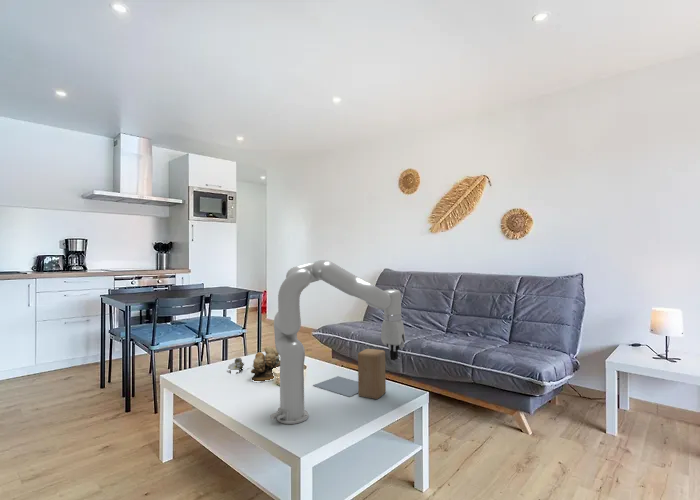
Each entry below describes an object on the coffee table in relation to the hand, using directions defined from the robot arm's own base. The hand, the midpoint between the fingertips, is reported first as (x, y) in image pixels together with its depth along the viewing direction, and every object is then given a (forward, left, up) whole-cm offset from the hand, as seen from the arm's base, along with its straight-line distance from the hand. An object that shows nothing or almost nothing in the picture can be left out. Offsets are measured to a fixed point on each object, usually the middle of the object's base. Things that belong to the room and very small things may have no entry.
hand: (394, 359), depth 175 cm
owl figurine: (-16, +71, -19) cm, 75 cm away
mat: (0, +30, -18) cm, 35 cm away
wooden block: (0, +12, -19) cm, 22 cm away
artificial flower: (-14, +90, -19) cm, 93 cm away
